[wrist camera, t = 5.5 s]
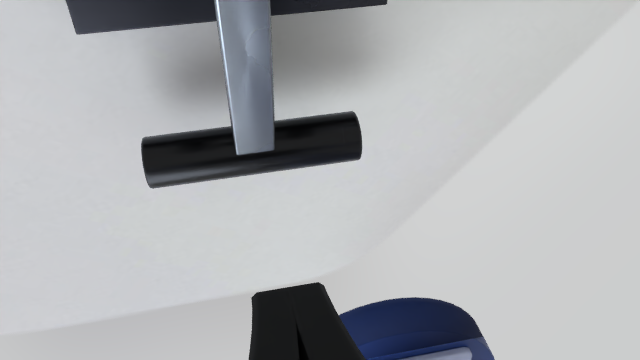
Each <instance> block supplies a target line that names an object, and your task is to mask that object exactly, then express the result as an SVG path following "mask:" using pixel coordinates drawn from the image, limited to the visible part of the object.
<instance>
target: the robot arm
mask: <svg viewBox="0 0 640 360" xmlns="http://www.w3.org/2000/svg"><path fill="white" fill-rule="evenodd" d="M471 359H472V353H471V351H470V349H469V348H467V347H459V348H454V349H449V350H444V351H439V352H433V353H428V354H423V355H418V356H413V357H408V358H402V359H397V360H471ZM249 360H366V359H365V358H364V356H363V355H362V354H361V352H360V350H359V349H358V347H357V346H356V344H355V343H354V341H353V339H352V338H351V336H350V334H349V333H348V331H347V329H346V328H345V326H344V324H343V323H342V321H341V319H340V317H339V315H338V314H337V312H336V310H335V309H334V306H333V304H332V302H331V300H330V298H329V296H328V294H327V292H326V289H325V287H324V285H322V284H320V283H319V282H318V283H311V284H305V285H299V286H293V287H287V288H281V289H275V290H269V291H263V292H257V293H256V294H255V295H254V296H253V297H252V334H251V344H250V353H249Z"/></svg>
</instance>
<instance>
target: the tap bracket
mask: <svg viewBox="0 0 640 360" xmlns="http://www.w3.org/2000/svg"><path fill="white" fill-rule="evenodd" d="M66 3H67V6H68V9H69V12H70V15H71V19H72V22H73V25H74V28H75V32H76V34H88V33H99V32H109V31H119V30H130V29H140V28H150V27H160V26H171V25H181V24H191V23H202V22H212V21H217V19H216V12H215V5H214V0H66ZM386 4H387V0H270V6H271V16H274V15H284V14H294V13H304V12H315V11H325V10H335V9H346V8H356V7H366V6H377V5H386Z"/></svg>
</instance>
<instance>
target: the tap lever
mask: <svg viewBox="0 0 640 360" xmlns="http://www.w3.org/2000/svg"><path fill="white" fill-rule="evenodd" d="M214 5H215V12H216V19H217V27H218V34H219V41H220V48H221V55H222V62H223V69H224V76H225V84H226V91H227V98H228V105H229V112H230V119H231V126H229V127H221V128H213V129H205V130H197V131H189V132H181V133H173V134H165V135H157V136H149V137H144V138H143V139H142V143H141V152H142V162H143V168H144V173H145V177H146V180H147V183H148V185H149V187H150V188H160V187H167V186H174V185H181V184H189V183H196V182H203V181H210V180H218V179H225V178H232V177H239V176H247V175H254V174H261V173H268V172H276V171H283V170H290V169H297V168H305V167H312V166H319V165H326V164H333V163H341V162H348V161H355V160H359V159H360V158H361V154H362V136H361V129H360V124H359V121H358V118H357V116H356V114H355V113H354V112H352V111H350V112H342V113H334V114H326V115H318V116H310V117H302V118H294V119H286V120H278V121H274V93H273V64H272V35H271V6H270V0H214Z"/></svg>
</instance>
